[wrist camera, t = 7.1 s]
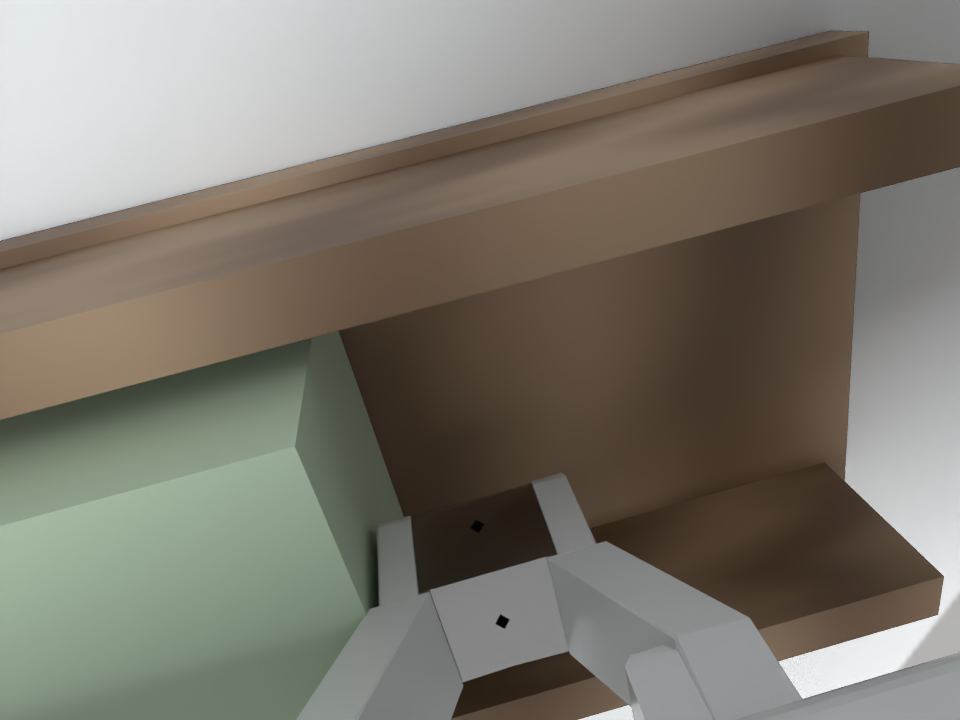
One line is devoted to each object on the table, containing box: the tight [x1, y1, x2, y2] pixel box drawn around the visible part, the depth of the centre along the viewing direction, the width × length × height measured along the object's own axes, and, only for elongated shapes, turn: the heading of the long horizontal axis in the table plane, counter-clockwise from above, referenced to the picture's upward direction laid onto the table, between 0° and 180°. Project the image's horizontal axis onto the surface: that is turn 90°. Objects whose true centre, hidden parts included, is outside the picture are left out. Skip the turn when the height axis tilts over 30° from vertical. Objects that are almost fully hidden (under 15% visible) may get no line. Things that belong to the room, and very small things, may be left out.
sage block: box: [0, 331, 404, 720], centre depth 11 cm, size 5×7×5 cm
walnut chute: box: [0, 31, 960, 720], centre depth 12 cm, size 25×10×4 cm, turn 102°
